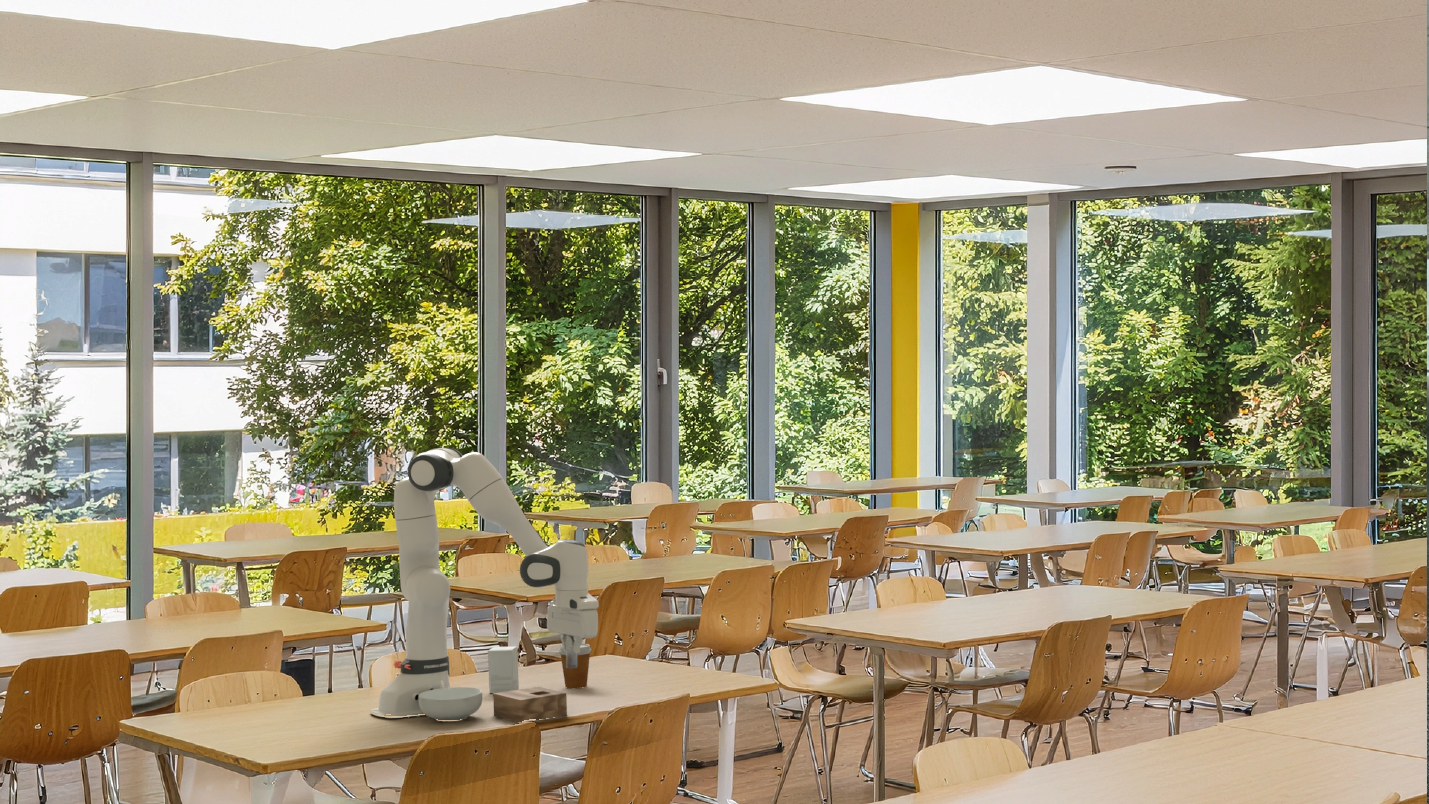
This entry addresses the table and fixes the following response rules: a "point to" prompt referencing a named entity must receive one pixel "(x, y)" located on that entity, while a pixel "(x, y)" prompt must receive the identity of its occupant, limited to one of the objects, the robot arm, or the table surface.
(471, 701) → the cereal bowl
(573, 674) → the disposable coffee cup
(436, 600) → the robot arm
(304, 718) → the table surface
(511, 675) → the supplement box
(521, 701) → the socket block
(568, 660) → the pin
